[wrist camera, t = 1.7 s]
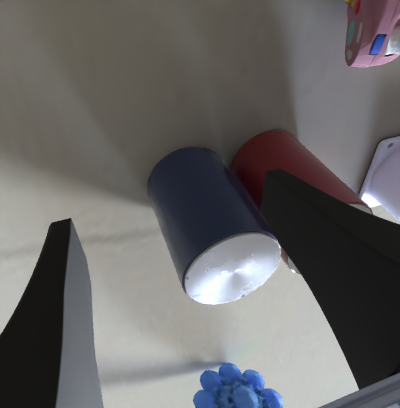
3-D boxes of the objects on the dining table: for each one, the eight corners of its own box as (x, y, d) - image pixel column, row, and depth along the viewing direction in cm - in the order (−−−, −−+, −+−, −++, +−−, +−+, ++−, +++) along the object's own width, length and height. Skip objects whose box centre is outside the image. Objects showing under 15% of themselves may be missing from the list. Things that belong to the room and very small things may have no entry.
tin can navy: (226, 139, 24) (290, 221, 18) (223, 203, 28) (275, 287, 22) (142, 156, 23) (180, 251, 17) (152, 221, 27) (185, 316, 21)
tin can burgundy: (305, 123, 26) (389, 193, 19) (292, 186, 30) (358, 260, 23) (231, 138, 24) (296, 219, 18) (228, 202, 28) (280, 286, 22)
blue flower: (267, 338, 48) (315, 431, 40) (255, 361, 52) (297, 450, 44) (189, 359, 44) (224, 468, 36) (183, 383, 48) (213, 485, 40)
